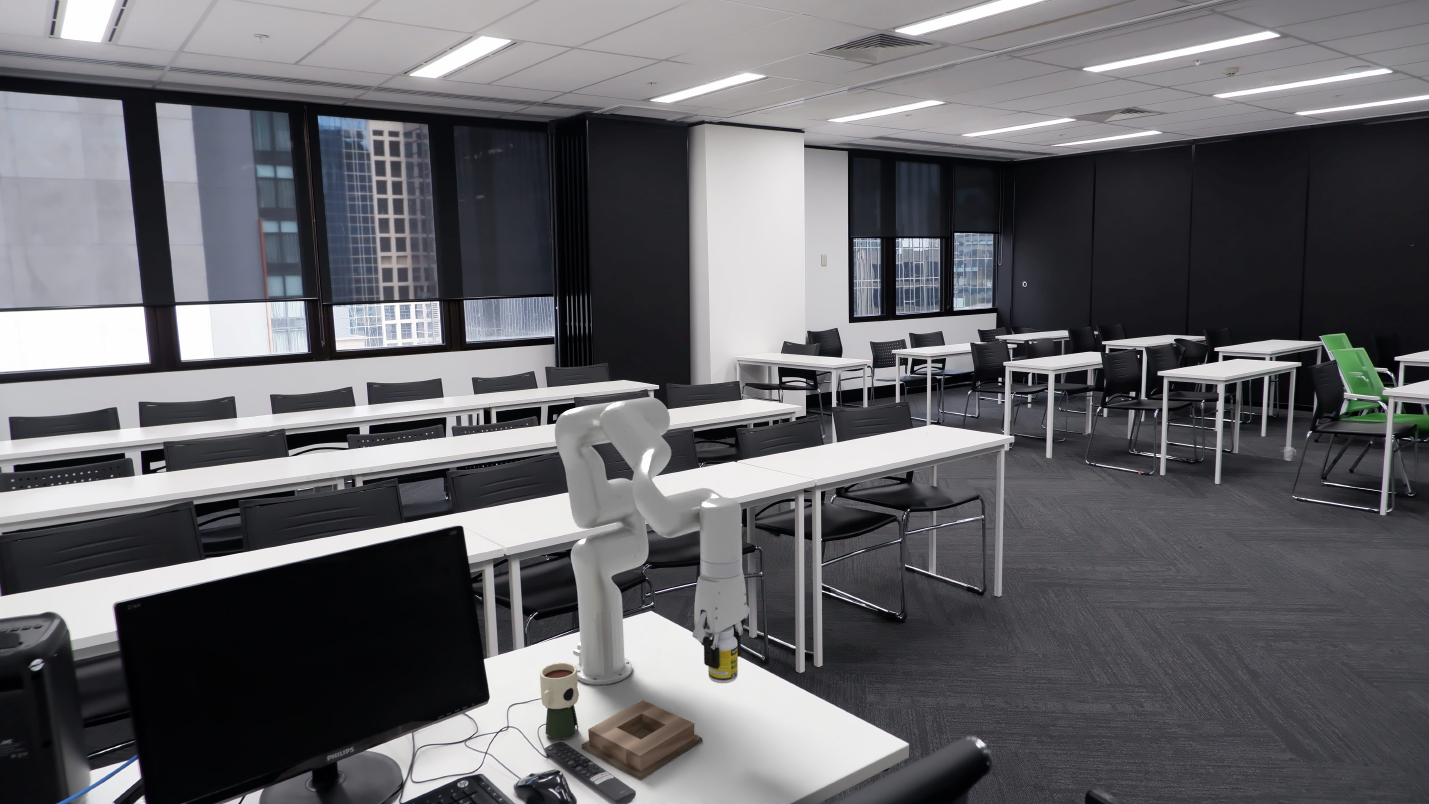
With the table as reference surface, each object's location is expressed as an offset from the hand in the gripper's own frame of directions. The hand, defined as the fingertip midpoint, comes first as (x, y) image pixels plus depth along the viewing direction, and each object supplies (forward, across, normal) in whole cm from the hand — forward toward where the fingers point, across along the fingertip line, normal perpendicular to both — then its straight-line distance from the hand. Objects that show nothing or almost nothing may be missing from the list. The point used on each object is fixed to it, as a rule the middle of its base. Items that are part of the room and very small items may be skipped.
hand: (722, 659), depth 158 cm
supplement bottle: (+4, 0, 0) cm, 4 cm away
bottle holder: (+17, +10, -12) cm, 23 cm away
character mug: (+17, +16, -27) cm, 36 cm away
